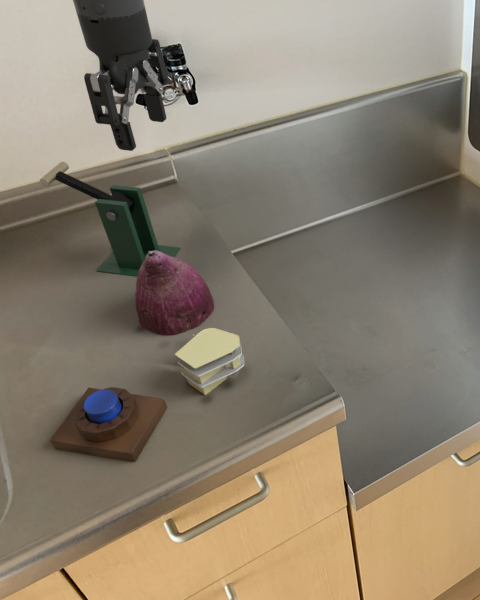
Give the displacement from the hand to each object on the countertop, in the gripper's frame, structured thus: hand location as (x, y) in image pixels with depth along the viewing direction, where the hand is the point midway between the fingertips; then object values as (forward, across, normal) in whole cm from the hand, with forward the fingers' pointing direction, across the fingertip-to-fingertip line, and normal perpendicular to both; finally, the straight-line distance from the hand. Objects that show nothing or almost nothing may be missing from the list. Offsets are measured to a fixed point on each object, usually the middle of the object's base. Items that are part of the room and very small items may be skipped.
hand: (143, 134), depth 82 cm
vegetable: (+23, +11, +5) cm, 25 cm away
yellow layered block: (+22, +21, +15) cm, 34 cm away
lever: (+11, +1, -11) cm, 15 cm away
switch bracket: (+23, +1, -6) cm, 23 cm away
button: (+19, +31, +6) cm, 37 cm away
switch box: (+22, +31, +6) cm, 38 cm away
